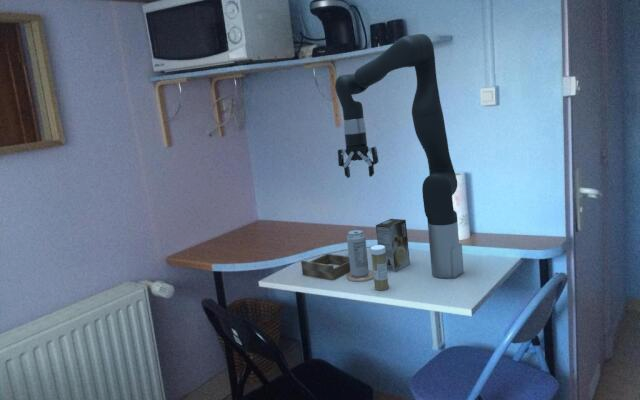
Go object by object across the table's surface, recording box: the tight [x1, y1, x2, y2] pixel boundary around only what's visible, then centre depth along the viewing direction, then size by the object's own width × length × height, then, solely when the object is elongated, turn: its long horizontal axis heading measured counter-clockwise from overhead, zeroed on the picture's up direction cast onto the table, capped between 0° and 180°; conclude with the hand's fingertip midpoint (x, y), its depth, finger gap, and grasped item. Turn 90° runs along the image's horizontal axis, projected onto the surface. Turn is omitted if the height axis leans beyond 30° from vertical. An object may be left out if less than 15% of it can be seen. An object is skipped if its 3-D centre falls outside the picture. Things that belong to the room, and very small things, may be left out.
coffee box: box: [375, 218, 411, 273], centre depth 189 cm, size 9×6×16 cm
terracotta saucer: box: [345, 269, 374, 283], centre depth 185 cm, size 10×10×1 cm
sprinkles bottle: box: [370, 244, 390, 291], centre depth 171 cm, size 5×5×13 cm
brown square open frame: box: [300, 253, 351, 281], centre depth 194 cm, size 14×14×5 cm
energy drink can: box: [346, 229, 370, 278], centre depth 183 cm, size 6×6×15 cm
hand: (359, 176), depth 199 cm, fingers open, 8 cm apart
